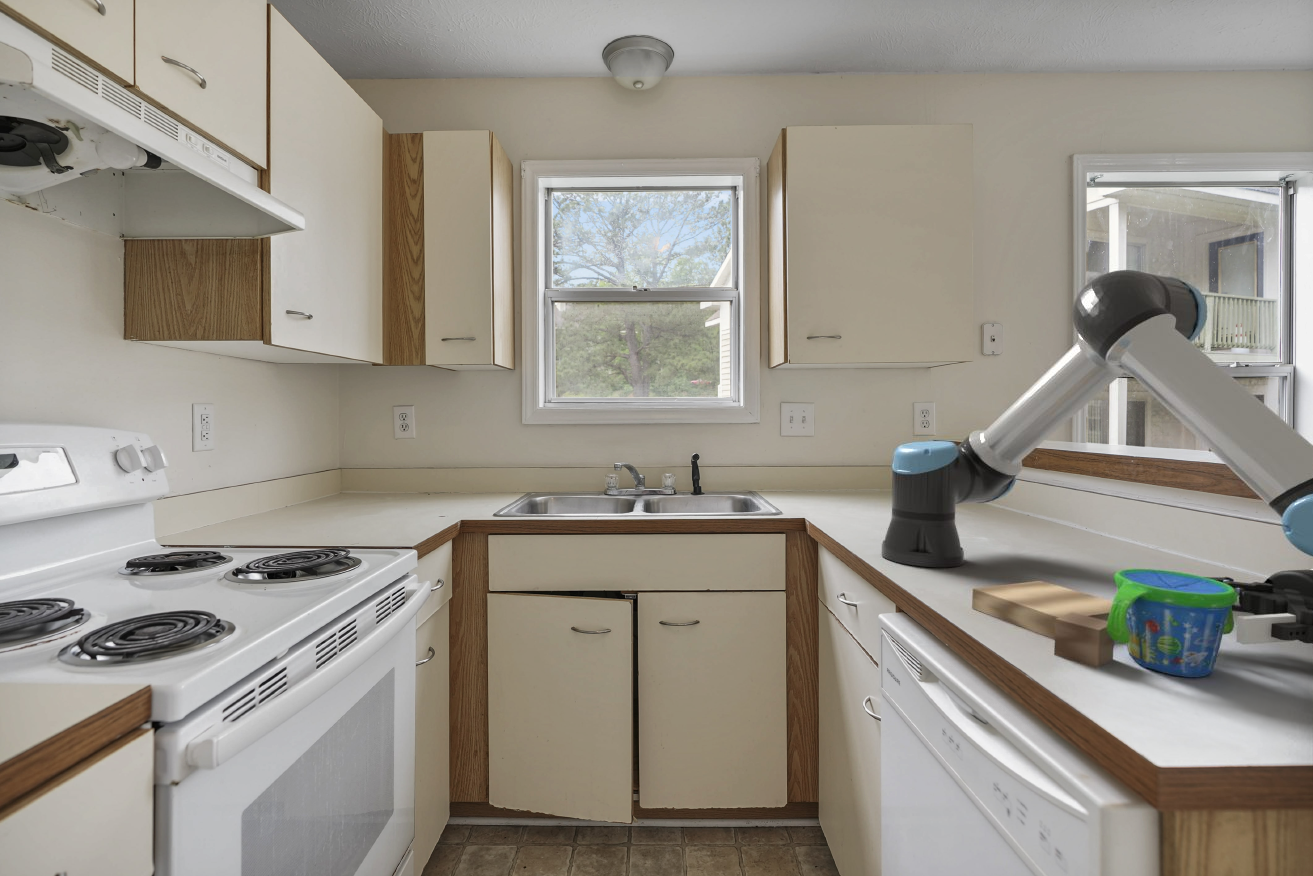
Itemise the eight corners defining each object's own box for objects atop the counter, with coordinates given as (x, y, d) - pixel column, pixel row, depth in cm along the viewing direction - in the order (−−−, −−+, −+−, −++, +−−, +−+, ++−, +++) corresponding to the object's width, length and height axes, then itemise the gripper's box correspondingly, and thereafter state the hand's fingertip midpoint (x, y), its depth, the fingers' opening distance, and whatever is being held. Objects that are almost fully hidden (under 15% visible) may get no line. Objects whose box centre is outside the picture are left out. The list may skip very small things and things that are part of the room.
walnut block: (1054, 655, 73) (1055, 618, 73) (1070, 647, 75) (1071, 612, 75) (1097, 668, 69) (1099, 630, 69) (1112, 659, 72) (1114, 622, 72)
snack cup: (1148, 689, 64) (1153, 595, 63) (1071, 650, 74) (1074, 568, 74) (1279, 684, 65) (1284, 592, 65) (1185, 646, 76) (1189, 567, 76)
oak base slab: (972, 608, 90) (972, 588, 90) (1039, 599, 95) (1040, 580, 94) (1062, 642, 77) (1063, 619, 77) (1136, 630, 81) (1137, 608, 81)
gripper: (1472, 676, 61) (1306, 690, 57) (1207, 599, 85) (1079, 606, 82) (1478, 602, 60) (1311, 612, 57) (1210, 547, 85) (1081, 551, 81)
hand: (1173, 609), depth 69 cm, fingers open, 13 cm apart
